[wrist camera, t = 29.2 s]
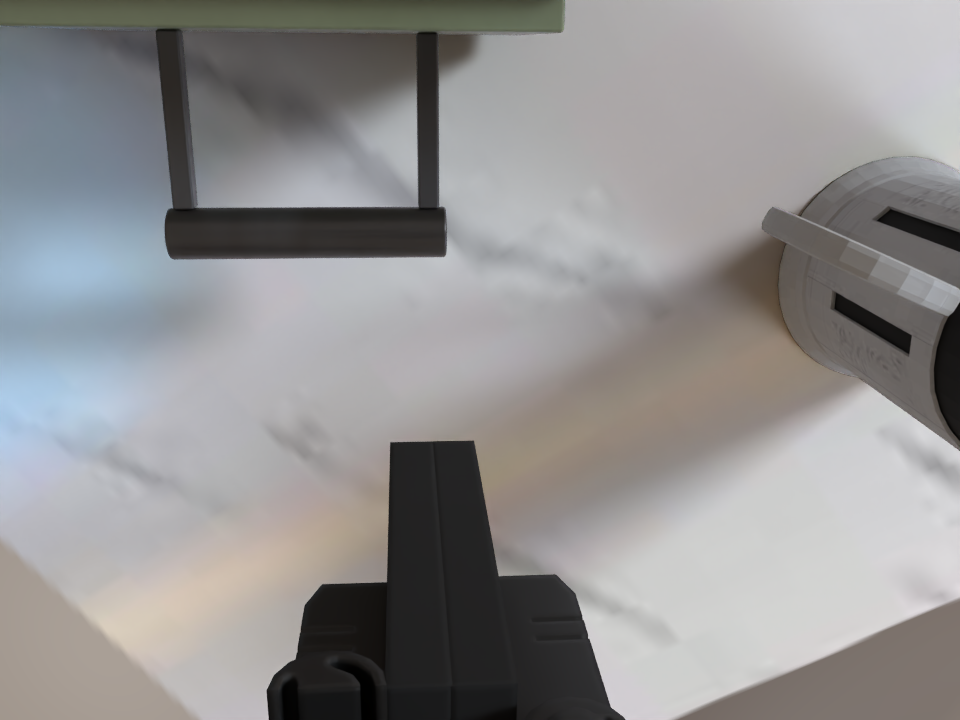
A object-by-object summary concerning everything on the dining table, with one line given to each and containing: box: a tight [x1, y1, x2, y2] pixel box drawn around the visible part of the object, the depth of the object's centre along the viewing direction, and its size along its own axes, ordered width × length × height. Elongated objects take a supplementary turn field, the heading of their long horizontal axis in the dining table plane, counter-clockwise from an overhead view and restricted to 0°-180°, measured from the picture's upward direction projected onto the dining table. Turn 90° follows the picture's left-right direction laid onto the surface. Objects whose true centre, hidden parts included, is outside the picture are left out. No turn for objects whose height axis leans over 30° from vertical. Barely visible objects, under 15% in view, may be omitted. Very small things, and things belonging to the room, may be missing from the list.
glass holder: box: [762, 157, 960, 451], centre depth 28 cm, size 9×14×15 cm, turn 66°
